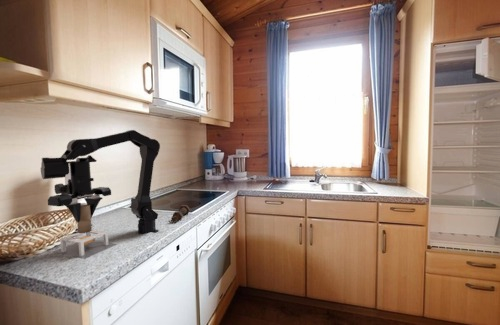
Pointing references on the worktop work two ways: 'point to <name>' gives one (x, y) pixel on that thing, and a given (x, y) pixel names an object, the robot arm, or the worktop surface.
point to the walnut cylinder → (84, 219)
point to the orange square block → (86, 241)
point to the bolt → (180, 213)
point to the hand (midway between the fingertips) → (83, 220)
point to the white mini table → (81, 249)
